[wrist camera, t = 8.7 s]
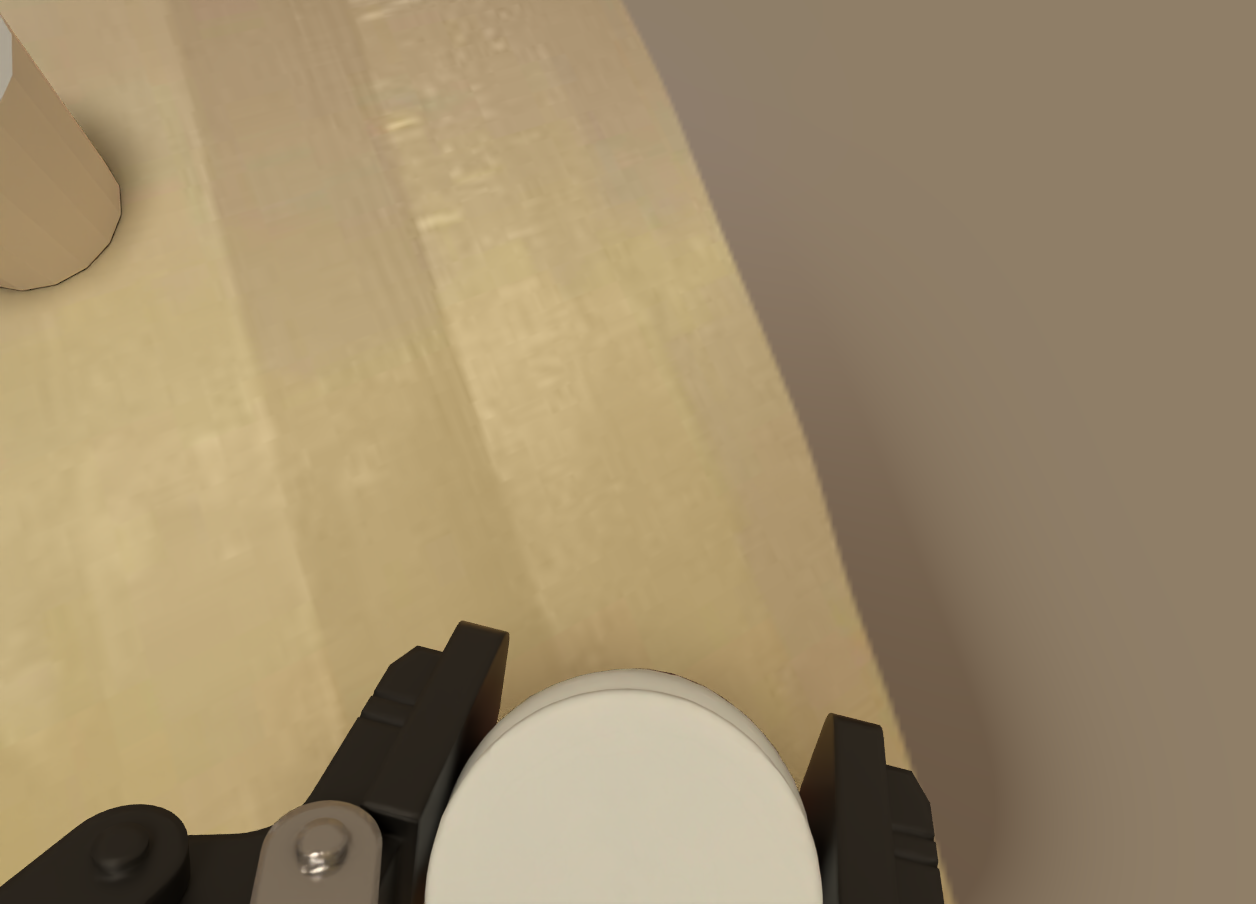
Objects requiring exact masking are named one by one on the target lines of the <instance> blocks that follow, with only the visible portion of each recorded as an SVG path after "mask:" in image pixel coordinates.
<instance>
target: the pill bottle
mask: <svg viewBox="0 0 1256 904" xmlns="http://www.w3.org/2000/svg"><path fill="white" fill-rule="evenodd" d="M425 904H823V893H822V882H821V874H820V869H819V862H818V856H817V851H816V847H815V844H814V840H813V837H812V834H811V831H810V827H809V824H808V820H807V815H806V811H805V808H804V805H803V802H802V799H801V797H800V794H799V792H798V789H797V787H796V784H795V782H794V779H793V778H792V776H791V774H790V772H789V770H788V769H787V767H786V765H785V763H784V762H783V761H782V760H781V757H780V755H779V753H778V751H777V750H776V749H775V748H774V746H773V745H772V744H771V742H770V741H769V740H768V739H767V737H766V736H765V735H764V734H763V733H762V732H761V730H760V729H759V728H758V727H757V726H756V725H755V724H754V723H753V722H752V721H751V720H750V719H749V718H748V717H747V716H746V715H745V714H744V713H743V712H741V711H740V710H739V709H737V708H736V707H735V706H733V705H732V704H731V703H729V702H728V701H727V700H725V699H724V698H723V697H721V696H720V695H718V694H716V693H715V692H713V691H711V690H710V689H708V688H707V687H705V686H702V685H700V684H698V683H695V682H693V681H691V680H688V679H686V678H683V677H681V676H678V675H675V674H671V673H666V672H661V671H656V670H651V669H615V670H608V671H601V672H594V673H589V674H585V675H580V676H577V677H574V678H571V679H568V680H565V681H562V682H559V683H556V684H554V685H552V686H550V687H548V688H546V689H544V690H542V691H540V692H538V693H536V694H534V695H532V696H530V697H529V698H528V699H526V700H525V701H524V702H523V703H521V704H520V705H518V706H517V707H516V708H514V709H513V710H512V711H511V712H509V713H508V714H507V715H506V716H505V717H504V718H503V719H501V720H500V721H499V722H498V723H497V724H496V725H495V726H494V727H493V728H492V730H491V731H490V732H489V733H488V734H487V735H486V736H485V737H484V739H483V740H482V741H481V742H480V744H479V745H478V747H477V748H476V749H475V751H474V752H473V754H472V755H471V756H470V758H469V759H468V761H467V763H466V764H465V766H464V768H463V769H462V771H461V773H460V775H459V777H458V779H457V781H456V784H455V786H454V788H453V791H452V793H451V796H450V798H449V801H448V804H447V807H446V809H445V811H444V813H443V815H442V817H441V820H440V824H439V827H438V830H437V833H436V837H435V840H434V844H433V848H432V851H431V855H430V860H429V866H428V871H427V878H426V888H425Z"/></svg>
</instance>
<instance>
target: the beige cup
mask: <svg viewBox="0 0 1256 904" xmlns="http://www.w3.org/2000/svg"><path fill="white" fill-rule="evenodd" d="M120 215H121V205H120V187H119V185H118V183H117V181H116V180H115V178H114V176H113V175H112V173H111V171H110V170H109V168H108V166H107V165H106V163H105V162H104V160H103V159H102V157H101V156H100V155H99V153H98V152H97V150H96V149H95V147H94V146H93V145H92V143H91V142H90V140H89V139H88V138H87V136H86V135H85V133H84V132H83V130H82V129H81V128H80V126H79V125H78V123H77V122H76V120H75V119H74V118H73V116H72V115H71V113H70V112H69V110H68V109H67V108H66V106H65V105H64V103H63V102H62V100H61V99H60V98H59V96H58V95H57V93H56V92H55V91H54V89H53V88H52V86H51V85H50V83H49V82H48V81H47V79H46V78H45V76H44V75H43V73H42V72H41V71H40V69H39V68H38V66H37V65H36V63H35V62H34V61H33V59H32V58H31V56H30V55H29V53H28V52H27V51H26V49H25V48H24V46H23V45H22V43H21V42H20V41H19V39H18V38H17V36H16V35H15V34H14V32H13V31H12V29H11V28H10V26H9V25H8V24H7V22H6V21H5V19H4V18H3V16H2V15H1V14H0V287H4V288H10V289H15V290H21V291H23V290H28V289H34V288H39V287H45V286H50V285H56V284H58V283H60V282H61V281H63V280H65V279H67V278H69V277H70V276H72V275H74V274H76V273H78V272H80V271H81V270H83V269H85V268H87V267H88V266H89V265H90V264H91V263H92V261H93V260H94V259H95V258H96V257H97V256H98V255H99V254H100V253H101V252H102V251H103V249H104V248H105V247H106V246H107V245H108V244H109V243H110V241H111V238H112V236H113V233H114V231H115V228H116V226H117V223H118V221H119V218H120Z"/></svg>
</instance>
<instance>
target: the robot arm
mask: <svg viewBox="0 0 1256 904" xmlns="http://www.w3.org/2000/svg"><path fill="white" fill-rule="evenodd" d="M508 646H509V633H508V632H506V631H502V630H498V629H494V628H490V627H486V626H482V625H478V624H474V623H470V622H466V621H461V622H459V624H458V625H457V627H456V629H455V630H454V632H453V634H452V636H451V638H450V640H449V641H448V643H447V645H446V647H445V649H444V651H443V652H441V651H437V650H433V649H429V648H425V647H421V646H416V647H415V648H413V649H412V650H410V651H409V652H408V653H406V654H405V655H403V656H402V657H400V658H399V659H398V660H396V661H395V662H393V663H392V664H391V665H390V666H389V667H388V669H387V671H386V672H385V674H384V676H383V677H382V679H381V681H380V682H379V684H378V685H377V687H376V689H375V690H374V694H373V696H371V697H370V699H369V700H368V702H367V703H366V705H365V707H364V708H363V710H362V712H361V716H360V717H358V718H357V720H356V721H355V723H354V725H353V726H352V728H351V730H350V731H349V733H348V735H347V736H346V738H345V739H344V741H343V743H342V744H341V746H340V748H339V749H338V751H337V753H336V754H335V756H334V757H333V759H332V761H331V762H330V764H329V766H328V767H327V769H326V771H325V772H324V774H323V775H322V777H321V779H320V780H319V782H318V784H317V785H316V787H315V789H314V790H313V792H312V793H311V795H310V796H309V798H308V799H307V800H306V802H305V803H304V804H303V805H302V806H300V807H297V808H296V809H294V810H292V811H290V812H288V813H287V814H285V815H284V816H283V817H281V818H280V819H279V820H278V821H277V822H276V823H275V824H274V825H272V826H270V827H267V828H264V829H261V830H258V831H253V832H248V833H240V834H217V835H187V830H186V828H185V826H184V824H183V823H182V821H181V820H180V819H179V818H178V817H177V816H176V815H174V814H173V813H172V812H170V811H168V810H166V809H164V808H161V807H157V806H153V805H145V804H136V805H126V806H120V807H116V808H113V809H109V810H106V811H104V812H101V813H99V814H97V815H95V816H93V817H91V818H89V819H87V820H86V821H84V822H83V823H82V824H80V825H79V826H77V827H76V828H75V829H73V830H72V831H71V832H70V833H68V834H67V835H66V836H64V837H63V838H62V839H61V840H59V841H58V842H57V843H56V844H54V845H53V846H52V847H50V848H49V849H48V850H47V851H45V852H44V853H43V854H42V855H40V856H39V857H38V858H36V859H35V860H34V861H33V862H31V863H30V864H29V865H28V866H26V867H25V868H24V869H22V870H21V871H20V872H19V873H17V874H16V875H15V876H14V877H12V878H11V879H10V880H8V881H7V882H6V883H5V884H3V885H2V886H1V887H0V904H424V902H425V888H426V878H427V871H428V866H429V860H430V855H431V851H432V848H433V844H434V840H435V837H436V833H437V830H438V827H439V824H440V820H441V817H442V815H443V813H444V811H445V809H446V807H447V804H448V801H449V798H450V796H451V793H452V791H453V788H454V786H455V784H456V781H457V779H458V777H459V775H460V773H461V771H462V769H463V768H464V766H465V764H466V763H467V761H468V759H469V758H470V756H471V755H472V754H473V752H474V751H475V749H476V748H477V747H478V745H479V744H480V742H481V741H482V740H483V739H484V737H485V736H486V735H487V734H488V733H489V732H490V731H491V730H492V728H493V727H494V726H495V725H496V723H497V719H498V714H499V709H500V702H501V695H502V688H503V681H504V674H505V667H506V660H507V653H508ZM799 794H800V797H801V799H802V802H803V805H804V808H805V811H806V815H807V820H808V824H809V827H810V831H811V834H812V837H813V840H814V844H815V847H816V851H817V856H818V862H819V869H820V874H821V882H822V893H823V904H944V899H943V892H942V885H941V878H940V871H939V869H938V868H937V865H938V857H937V850H936V842H934V836H935V835H934V828H933V821H932V814H931V807H930V802H929V801H928V799H927V797H926V795H925V794H924V792H923V790H922V789H921V787H920V785H919V783H918V782H917V780H916V778H915V776H914V775H913V773H912V771H909V770H905V769H901V768H897V767H893V766H889V765H886V759H885V748H884V737H883V731H882V728H881V726H880V725H877V724H873V723H869V722H865V721H861V720H857V719H853V718H849V717H845V716H841V715H837V714H833V713H830V714H828V716H827V718H826V720H825V722H824V725H823V728H822V730H821V733H820V736H819V738H818V741H817V744H816V747H815V749H814V752H813V755H812V758H811V760H810V763H809V766H808V769H807V771H806V774H805V777H804V780H803V782H802V785H801V788H800V792H799Z"/></svg>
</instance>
